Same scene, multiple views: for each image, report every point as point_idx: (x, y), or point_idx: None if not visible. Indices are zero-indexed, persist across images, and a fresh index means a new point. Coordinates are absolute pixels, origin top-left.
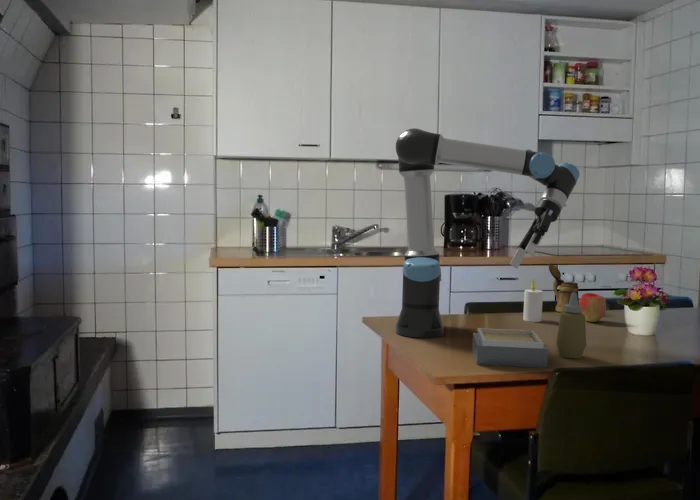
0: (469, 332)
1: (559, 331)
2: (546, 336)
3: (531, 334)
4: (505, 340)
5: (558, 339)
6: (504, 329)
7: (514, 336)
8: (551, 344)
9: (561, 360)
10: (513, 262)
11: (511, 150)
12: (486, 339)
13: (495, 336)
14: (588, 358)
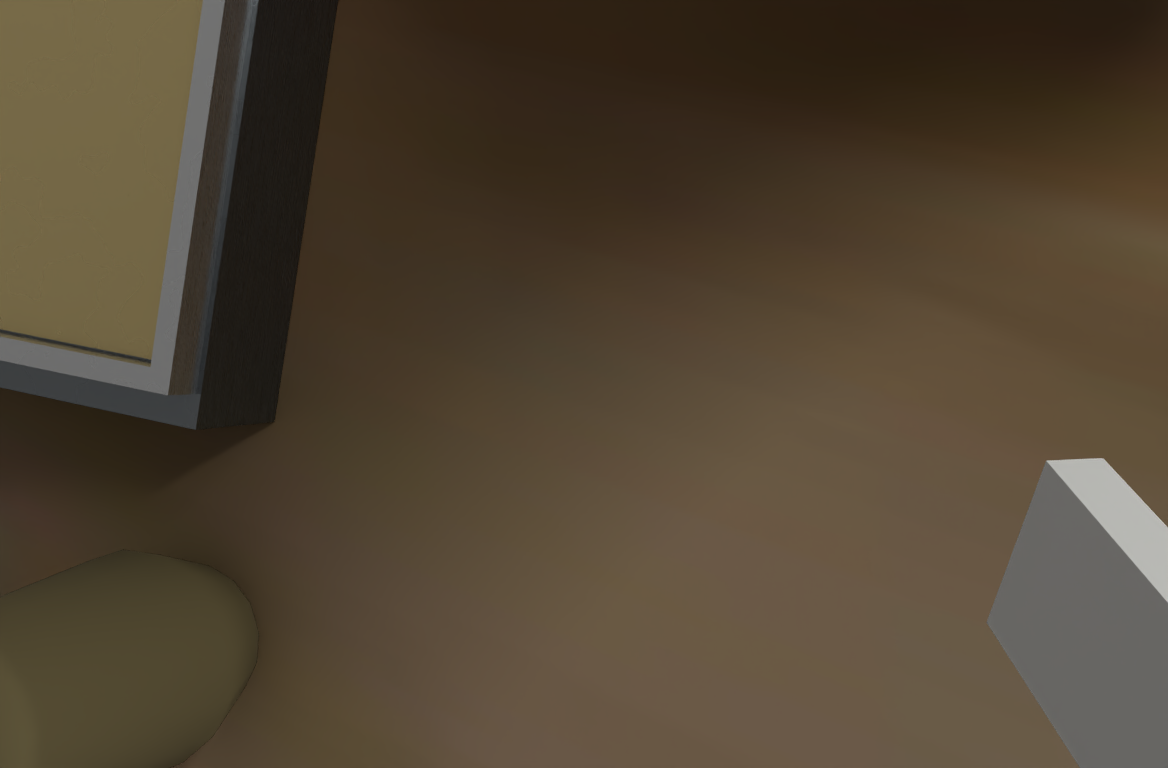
0: (1022, 42)
1: (59, 578)
2: (856, 756)
3: (134, 360)
4: (4, 102)
5: (100, 559)
6: (194, 147)
7: (127, 214)
8: (546, 660)
9: (102, 523)
10: (1068, 552)
11: None
12: None
13: (121, 54)
14: None
